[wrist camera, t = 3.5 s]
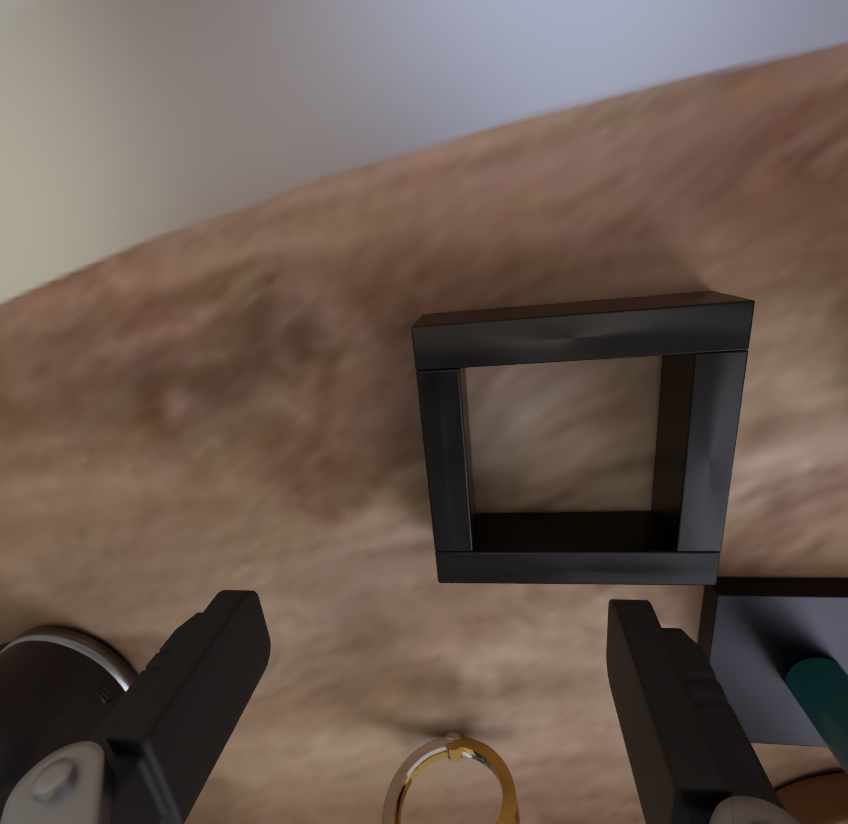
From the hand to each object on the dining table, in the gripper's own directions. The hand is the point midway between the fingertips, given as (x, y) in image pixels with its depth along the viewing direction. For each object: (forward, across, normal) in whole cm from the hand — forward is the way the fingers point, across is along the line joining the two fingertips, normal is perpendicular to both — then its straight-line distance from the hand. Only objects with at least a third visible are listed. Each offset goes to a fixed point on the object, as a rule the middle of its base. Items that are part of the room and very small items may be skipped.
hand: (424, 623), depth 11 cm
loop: (+11, -4, 0) cm, 12 cm away
